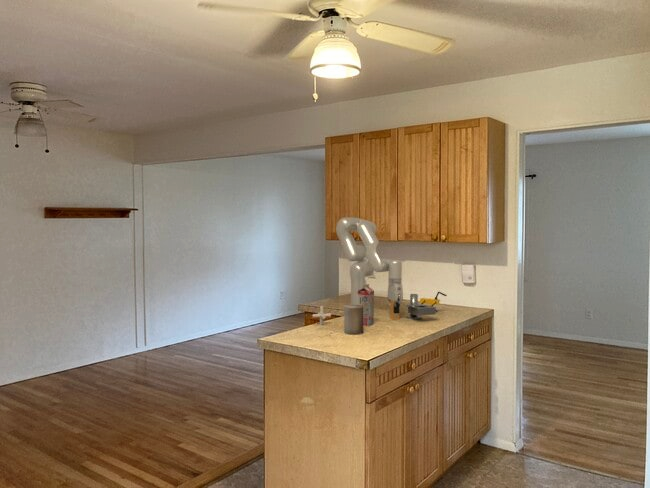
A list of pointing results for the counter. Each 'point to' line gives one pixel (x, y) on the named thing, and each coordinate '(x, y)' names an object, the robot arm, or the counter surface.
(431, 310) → the block with square hole
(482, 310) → the counter surface
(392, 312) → the wooden block
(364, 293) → the juice carton
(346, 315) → the pillar candle
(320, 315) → the pipe connector
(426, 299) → the robot dog
